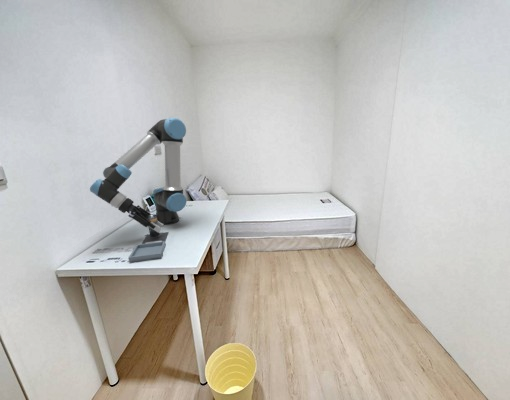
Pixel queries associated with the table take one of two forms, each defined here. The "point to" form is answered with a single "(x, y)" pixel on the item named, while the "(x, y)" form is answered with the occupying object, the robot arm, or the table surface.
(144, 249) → the tray
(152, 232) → the battery cell
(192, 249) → the table surface
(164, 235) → the dark grey pad
